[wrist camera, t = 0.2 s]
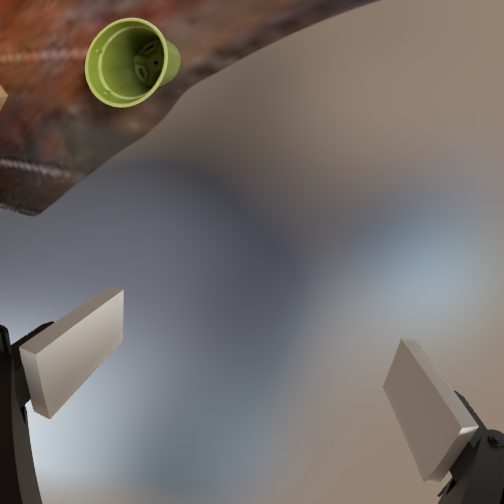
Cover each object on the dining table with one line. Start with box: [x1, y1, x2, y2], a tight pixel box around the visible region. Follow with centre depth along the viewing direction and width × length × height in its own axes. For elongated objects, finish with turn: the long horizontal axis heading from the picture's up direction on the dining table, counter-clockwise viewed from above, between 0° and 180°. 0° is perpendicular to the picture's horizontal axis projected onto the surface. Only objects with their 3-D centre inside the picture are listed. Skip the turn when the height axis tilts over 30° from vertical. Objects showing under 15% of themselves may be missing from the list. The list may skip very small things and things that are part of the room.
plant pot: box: [85, 18, 181, 107], centre depth 29 cm, size 9×9×9 cm
